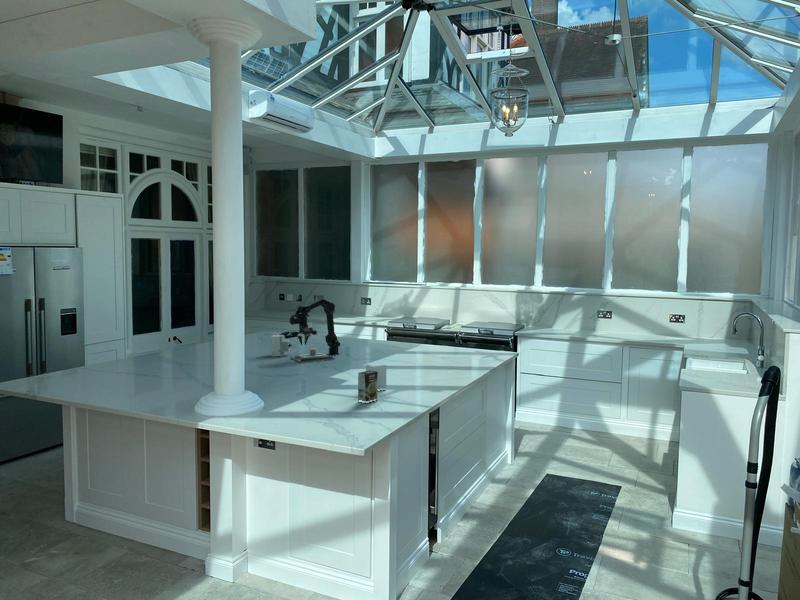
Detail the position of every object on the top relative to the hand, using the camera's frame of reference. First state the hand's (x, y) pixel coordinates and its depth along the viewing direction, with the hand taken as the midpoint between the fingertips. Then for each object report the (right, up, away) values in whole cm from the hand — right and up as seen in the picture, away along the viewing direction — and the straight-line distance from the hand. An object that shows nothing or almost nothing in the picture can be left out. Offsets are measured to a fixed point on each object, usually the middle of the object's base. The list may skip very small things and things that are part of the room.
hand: (303, 344), depth 453 cm
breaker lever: (+6, -9, +4) cm, 12 cm away
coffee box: (+52, -23, -114) cm, 127 cm away
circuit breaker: (-19, -10, +18) cm, 28 cm away
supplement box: (+56, -20, -88) cm, 106 cm away
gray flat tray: (+6, -10, +4) cm, 12 cm away
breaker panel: (+6, -11, +5) cm, 13 cm away
